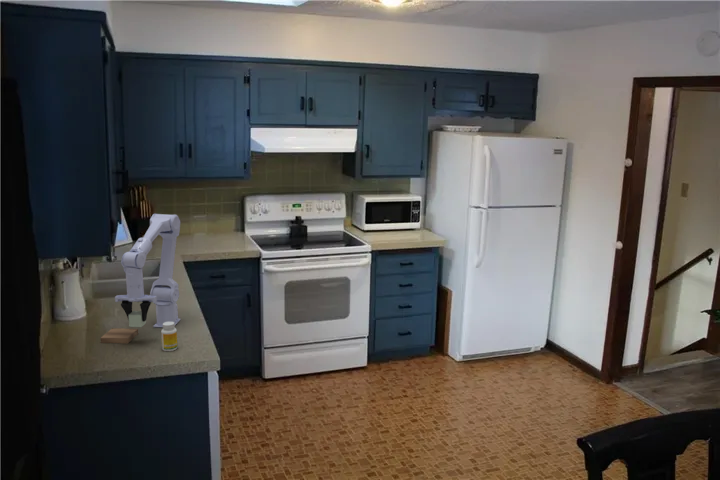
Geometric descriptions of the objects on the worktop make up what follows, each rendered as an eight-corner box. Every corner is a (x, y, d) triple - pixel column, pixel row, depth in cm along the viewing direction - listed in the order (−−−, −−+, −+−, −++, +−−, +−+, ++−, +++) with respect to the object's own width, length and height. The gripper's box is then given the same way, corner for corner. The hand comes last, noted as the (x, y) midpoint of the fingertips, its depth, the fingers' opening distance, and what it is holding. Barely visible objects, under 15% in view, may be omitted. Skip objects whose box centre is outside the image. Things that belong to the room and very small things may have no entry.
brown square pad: (112, 334, 238) (112, 328, 237) (138, 335, 238) (138, 328, 237) (101, 344, 228) (100, 337, 228) (127, 344, 228) (127, 338, 227)
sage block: (134, 322, 230) (133, 310, 229) (146, 322, 230) (145, 311, 229) (129, 326, 226) (128, 314, 225) (141, 327, 225) (140, 315, 224)
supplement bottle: (159, 348, 223) (157, 323, 221) (172, 344, 227) (171, 319, 225) (167, 352, 219) (165, 326, 218) (180, 348, 223) (179, 323, 221)
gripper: (110, 287, 221) (113, 323, 224) (150, 288, 220) (153, 324, 223) (118, 281, 228) (121, 317, 231) (157, 282, 227) (160, 318, 230)
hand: (137, 320), depth 227 cm, fingers closed on sage block, 4 cm apart
